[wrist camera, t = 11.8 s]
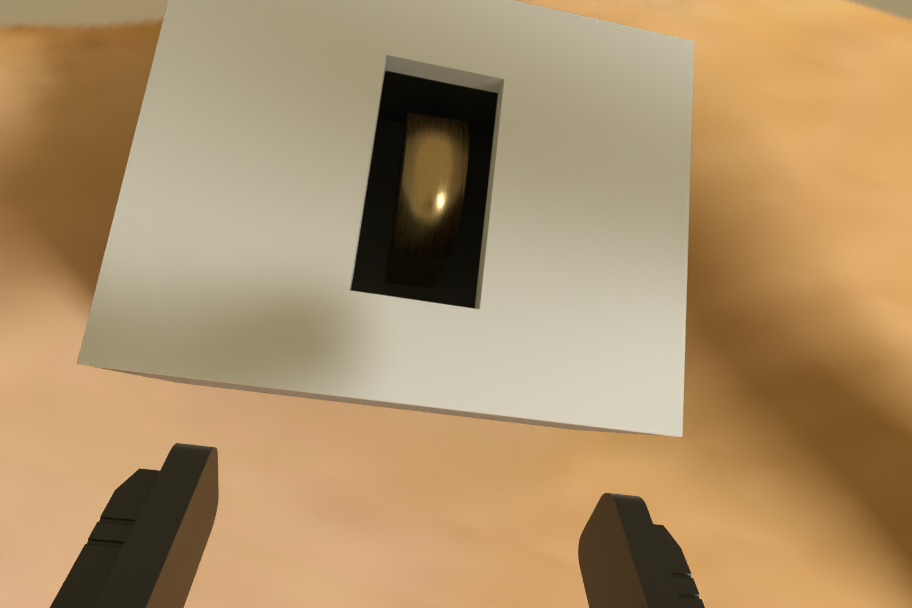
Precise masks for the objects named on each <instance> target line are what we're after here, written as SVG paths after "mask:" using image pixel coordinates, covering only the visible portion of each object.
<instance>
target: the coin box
mask: <svg viewBox="0 0 912 608" xmlns="http://www.w3.org/2000/svg"><path fill="white" fill-rule="evenodd" d="M693 70H694V41H692V40H688V39H683V38H679V37H675V36H670V35H666V34H661V33H657V32H653V31H648V30H644V29H639V28H635V27H631V26H626V25H622V24H617V23H613V22H609V21H604V20H600V19H595V18H591V17H587V16H582V15H578V14H573V13H569V12H565V11H560V10H556V9H551V8H547V7H542V6H538V5H534V4H529V3H525V2H520V1H516V0H168V3H167V7H166V11H165V15H164V19H163V23H162V27H161V31H160V35H159V39H158V43H157V47H156V51H155V55H154V59H153V63H152V67H151V70H150V74H149V78H148V82H147V86H146V90H145V94H144V98H143V102H142V106H141V110H140V114H139V118H138V122H137V126H136V130H135V134H134V138H133V142H132V146H131V150H130V154H129V158H128V162H127V166H126V170H125V174H124V178H123V182H122V186H121V190H120V194H119V198H118V202H117V206H116V210H115V214H114V218H113V222H112V226H111V230H110V234H109V238H108V241H107V245H106V249H105V253H104V257H103V261H102V265H101V269H100V273H99V277H98V281H97V285H96V289H95V293H94V297H93V301H92V305H91V309H90V313H89V317H88V321H87V325H86V329H85V333H84V337H83V341H82V345H81V349H80V353H79V357H78V361H77V364H80V365H86V366H91V367H96V368H102V369H107V370H112V371H118V372H123V373H129V374H134V375H139V376H145V377H150V378H156V379H161V380H166V381H172V382H178V383H186V384H195V385H203V386H212V387H220V388H228V389H237V390H245V391H254V392H262V393H270V394H279V395H287V396H296V397H304V398H313V399H321V400H329V401H338V402H346V403H355V404H363V405H371V406H380V407H388V408H397V409H405V410H413V411H422V412H430V413H439V414H447V415H455V416H464V417H472V418H481V419H489V420H498V421H506V422H514V423H523V424H531V425H540V426H548V427H556V428H565V429H573V430H585V431H601V432H616V433H631V434H647V435H662V436H678V437H682V433H683V400H684V367H685V334H686V301H687V268H688V235H689V202H690V169H691V136H692V103H693ZM408 112H410V113H416V114H422V115H428V116H434V117H440V118H446V119H452V120H458V121H464V122H467V124H468V128H469V153H468V166H467V176H466V185H465V192H464V199H463V205H462V211H461V217H460V222H459V227H458V232H457V236H456V240H455V244H454V247H453V251H452V254H451V256H450V258H449V260H448V262H447V264H446V266H445V267H444V269H443V271H442V272H441V274H440V276H439V277H438V279H437V281H436V282H435V284H434V286H433V287H432V288H425V287H417V286H409V285H401V284H392V283H385V280H386V271H387V262H388V254H389V245H390V236H391V227H392V219H393V210H394V201H395V192H396V184H397V175H398V168H399V162H400V157H401V151H402V145H403V139H404V133H405V127H406V122H407V116H408Z"/></svg>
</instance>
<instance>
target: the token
mask: <svg viewBox="0 0 912 608" xmlns="http://www.w3.org/2000/svg"><path fill="white" fill-rule="evenodd" d="M468 153H469V128H468V124H467V122H464V121H458V120H452V119H446V118H440V117H434V116H428V115H422V114H416V113H410V112H408V116H407V122H406V127H405V133H404V139H403V145H402V151H401V157H400V162H399V168H398V175H397V184H396V192H395V201H394V210H393V219H392V227H391V236H390V245H389V254H388V262H387V271H386V280H385V283H392V284H401V285H409V286H417V287H425V288H432V287H433V286H434V284H435V282H436V281H437V279H438V277H439V276H440V274H441V272H442V271H443V269H444V267H445V266H446V264H447V262H448V260H449V258H450V256H451V254H452V251H453V247H454V244H455V240H456V236H457V232H458V227H459V222H460V217H461V211H462V205H463V199H464V192H465V185H466V176H467V166H468Z"/></svg>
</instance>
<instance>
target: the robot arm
mask: <svg viewBox="0 0 912 608" xmlns="http://www.w3.org/2000/svg"><path fill="white" fill-rule="evenodd" d="M217 506H218V452H217V448H215V447H207V446H198V445H189V444H180V443H176V444H175V445H174V446H173V447H172V449H171V450H170V452H169V454H168V456H167V458H166V460H165V462H164V464H163V466H162V468H161V470H160V471H158V470H148V469H139V470H137V471H136V472H135V473H134V474H133V475H132V476H131V477H130V478H128V479H127V480H126V481H125V482H124V483H123V484H122V485H120V486H119V487H118V488H117V489H116V490H115V491H114V493H113V495H112V497H111V499H110V500H109V502H108V504H107V506H106V508H105V509H104V511H103V513H102V515H101V517H100V521H99V522H97V524H96V526H95V527H94V529H93V531H92V533H91V535H90V536H89V538H88V543H87V544H85V545H84V547H83V549H82V551H81V553H80V554H79V556H78V558H77V560H76V562H75V563H74V565H73V567H72V569H71V571H70V572H69V574H68V576H67V578H66V580H65V581H64V583H63V585H62V587H61V589H60V590H59V592H58V594H57V596H56V598H55V599H54V601H53V603H52V605H51V607H50V608H183V607H184V605H185V602H186V599H187V596H188V594H189V591H190V588H191V585H192V583H193V580H194V577H195V574H196V571H197V569H198V566H199V563H200V560H201V558H202V555H203V552H204V549H205V547H206V544H207V541H208V538H209V535H210V533H211V530H212V527H213V524H214V520H215V516H216V511H217ZM578 557H579V565H580V569H581V574H582V578H583V582H584V587H585V591H586V595H587V600H588V604H589V608H705V607H704V604H703V602H702V599H699V592H698V589H697V587H696V584H695V582H694V579H693V578H691V572H690V569H689V567H688V564H687V562H686V559H685V557H684V554H683V552H682V549H681V548H680V546H679V545H678V544H677V542H676V541H675V540H674V538H673V537H672V536H671V535H670V533H669V532H668V531H667V529H666V528H665V527H664V526H663V525H656V524H653V522H652V520H651V517H650V514H649V512H648V509H647V506H646V504H645V502H644V500H643V499H642V498H640V497H638V496H630V495H621V494H612V493H605V494H603V495H602V496H601V498H600V500H599V502H598V504H597V506H596V507H595V509H594V511H593V513H592V515H591V517H590V519H589V521H588V522H587V524H586V526H585V528H584V530H583V532H582V534H581V537H580V540H579V548H578Z"/></svg>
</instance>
